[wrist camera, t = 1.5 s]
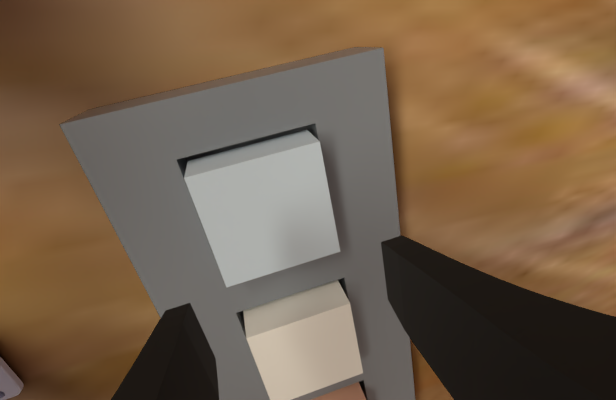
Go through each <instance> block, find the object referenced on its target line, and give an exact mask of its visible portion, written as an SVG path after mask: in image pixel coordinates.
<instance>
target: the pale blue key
mask: <svg viewBox="0 0 616 400" xmlns="http://www.w3.org/2000/svg"><path fill="white" fill-rule="evenodd" d="M184 179H185V182H186V184H187V187H188V190H189V192H190V195H191V197H192V200H193V202H194V205H195V208H196V210H197V213H198V215H199V218H200V220H201V223H202V226H203V228H204V231H205V233H206V236H207V239H208V241H209V244H210V246H211V249H212V251H213V254H214V257H215V259H216V262H217V264H218V267H219V269H220V272H221V275H222V277H223V280H224V282H225V285H226V287H230V286H233V285H236V284H239V283H243V282H246V281H249V280H252V279H255V278H258V277H262V276H265V275H268V274H271V273H274V272H277V271H280V270H284V269H287V268H290V267H293V266H296V265H299V264H303V263H306V262H309V261H312V260H315V259H318V258H322V257H325V256H328V255H331V254H334V253H337V252H340V247H339V241H338V236H337V231H336V225H335V220H334V215H333V209H332V204H331V199H330V193H329V188H328V183H327V177H326V172H325V167H324V161H323V156H322V151H321V145H320V141H319V140H318V139H317V138H315V137H314V136H313V135H312V134H311V133H310V132H309V131H308V130H304V131H300V132H296V133H292V134H289V135H285V136H281V137H277V138H273V139H270V140H266V141H262V142H258V143H254V144H250V145H247V146H243V147H239V148H235V149H231V150H228V151H224V152H220V153H216V154H212V155H209V156H205V157H201V158H197V159H193V160H190V161H188V162H187V167H186V171H185V176H184Z"/></svg>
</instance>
